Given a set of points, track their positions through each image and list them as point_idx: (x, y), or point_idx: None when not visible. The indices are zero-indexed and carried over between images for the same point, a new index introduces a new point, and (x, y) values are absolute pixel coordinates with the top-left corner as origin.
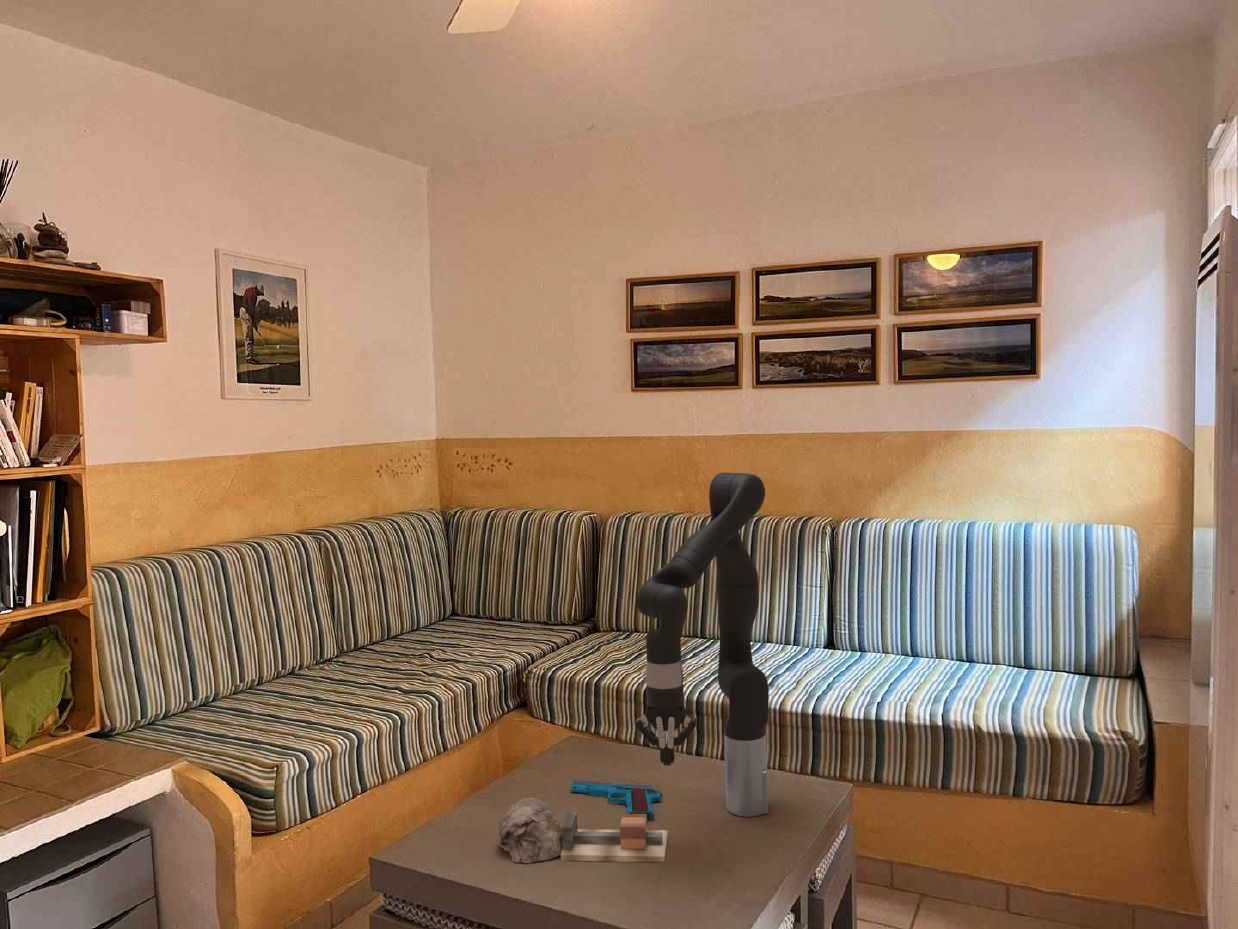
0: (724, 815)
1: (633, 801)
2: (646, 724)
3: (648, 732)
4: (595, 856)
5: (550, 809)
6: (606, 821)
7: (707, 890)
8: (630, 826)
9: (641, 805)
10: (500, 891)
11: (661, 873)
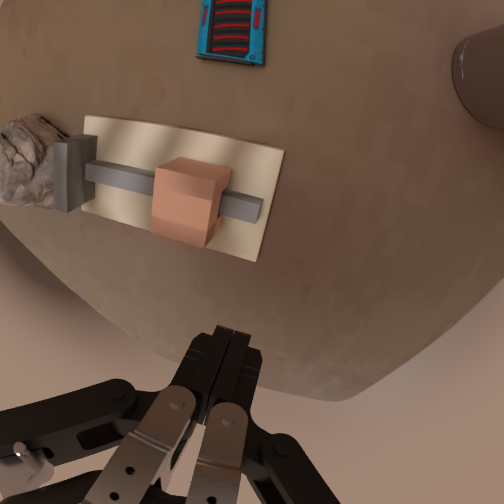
0: (440, 90)
1: (215, 4)
2: (45, 473)
3: (78, 458)
4: (131, 224)
5: (21, 178)
6: (156, 58)
7: (310, 348)
8: (172, 238)
9: (231, 30)
10: (45, 265)
11: (246, 288)
